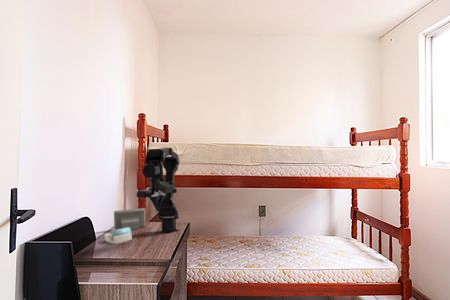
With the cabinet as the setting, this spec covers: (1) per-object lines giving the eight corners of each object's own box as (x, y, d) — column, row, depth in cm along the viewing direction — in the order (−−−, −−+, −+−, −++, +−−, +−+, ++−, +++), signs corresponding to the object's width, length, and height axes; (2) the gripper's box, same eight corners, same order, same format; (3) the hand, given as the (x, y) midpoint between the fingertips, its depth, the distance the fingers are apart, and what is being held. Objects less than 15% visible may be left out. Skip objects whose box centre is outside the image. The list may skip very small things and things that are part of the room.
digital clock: (146, 226, 169) (146, 206, 170) (144, 229, 160) (143, 209, 161) (116, 228, 167) (115, 208, 168) (112, 232, 159) (111, 211, 159)
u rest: (120, 237, 146) (120, 230, 147) (131, 240, 140) (131, 233, 140) (104, 240, 141) (104, 234, 141) (115, 244, 134) (115, 237, 134)
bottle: (125, 227, 146) (106, 231, 139) (130, 227, 143) (111, 231, 136) (126, 236, 146) (107, 241, 139) (131, 237, 142) (112, 241, 135)
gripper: (151, 178, 126) (153, 216, 126) (184, 174, 141) (185, 208, 141) (135, 178, 133) (136, 214, 133) (168, 174, 148) (169, 207, 147)
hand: (158, 211), depth 138 cm, fingers closed
